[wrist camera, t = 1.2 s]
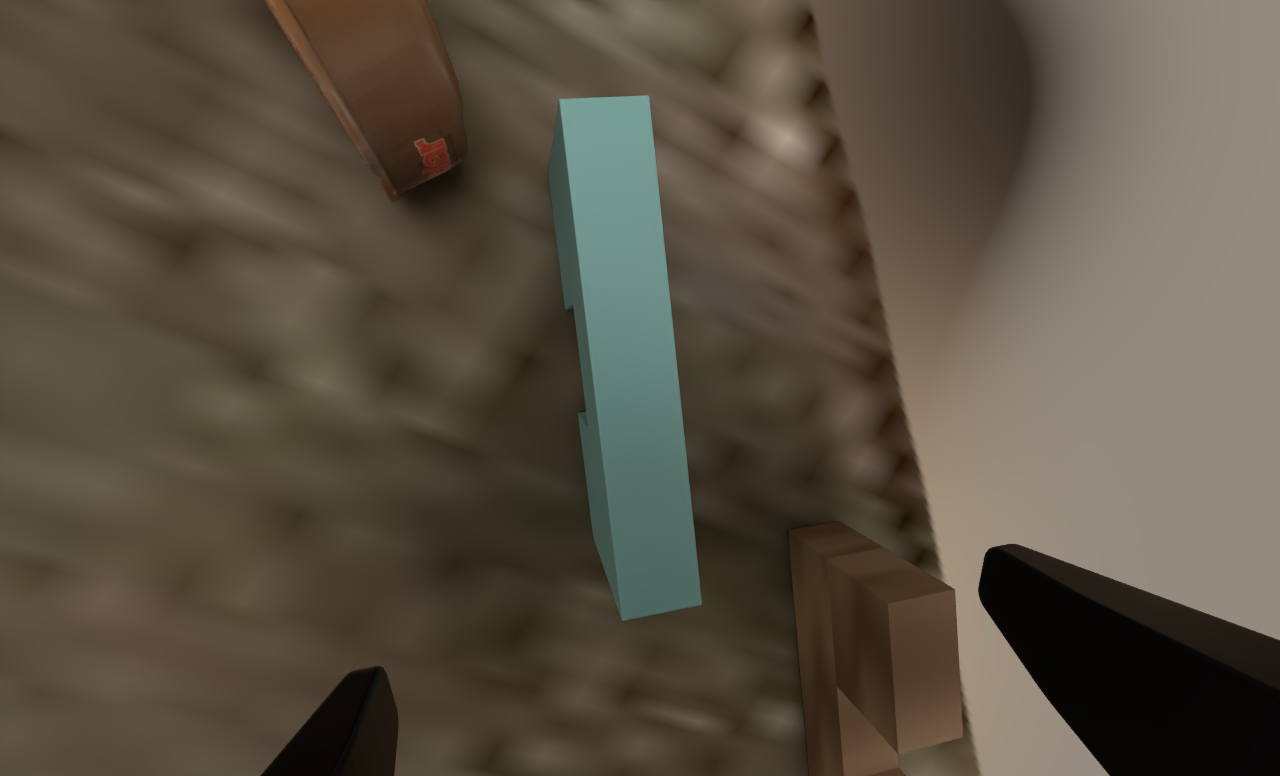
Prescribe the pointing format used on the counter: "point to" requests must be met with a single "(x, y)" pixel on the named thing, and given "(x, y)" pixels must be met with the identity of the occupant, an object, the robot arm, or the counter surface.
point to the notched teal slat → (624, 351)
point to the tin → (382, 83)
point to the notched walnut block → (871, 653)
